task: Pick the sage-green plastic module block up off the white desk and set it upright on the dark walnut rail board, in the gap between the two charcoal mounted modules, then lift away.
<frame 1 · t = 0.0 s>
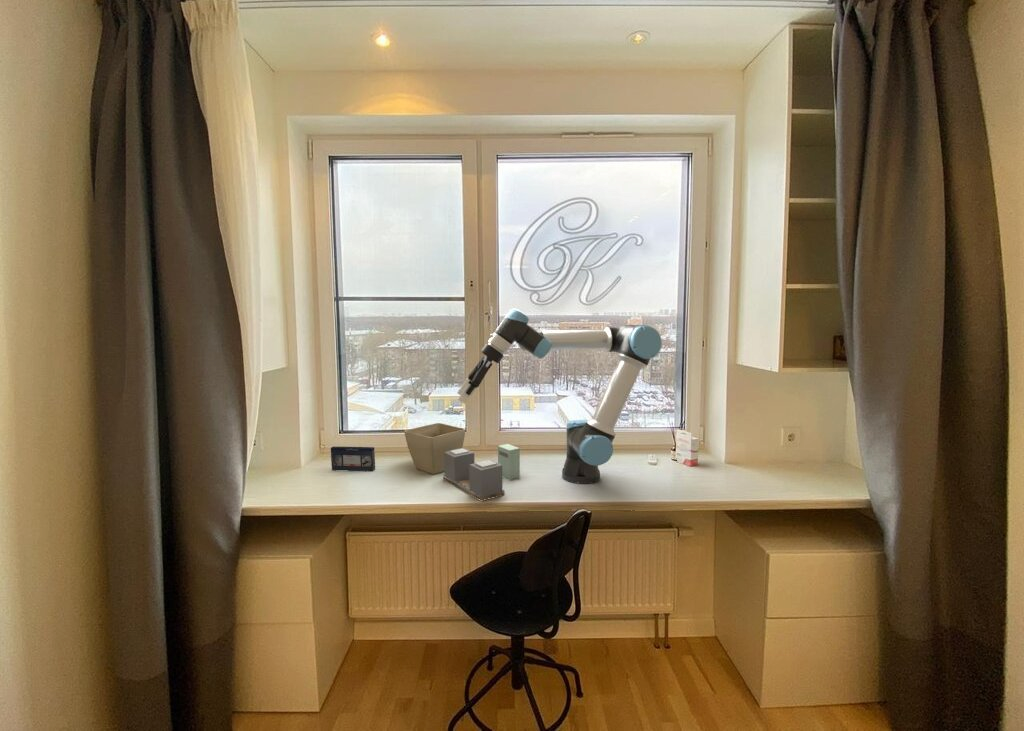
hand: (460, 398, 157), 36 cm above the table, tool tilted 35°, fingers open, 13 cm apart
mounted modules: (472, 486, 171), resting on rail board
vhs cassette tape: (353, 470, 191), on the table
module block: (508, 475, 183), on the table
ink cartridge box: (686, 463, 197), on the table
rail board: (472, 486, 171), on the table
flower pot: (435, 468, 193), on the table
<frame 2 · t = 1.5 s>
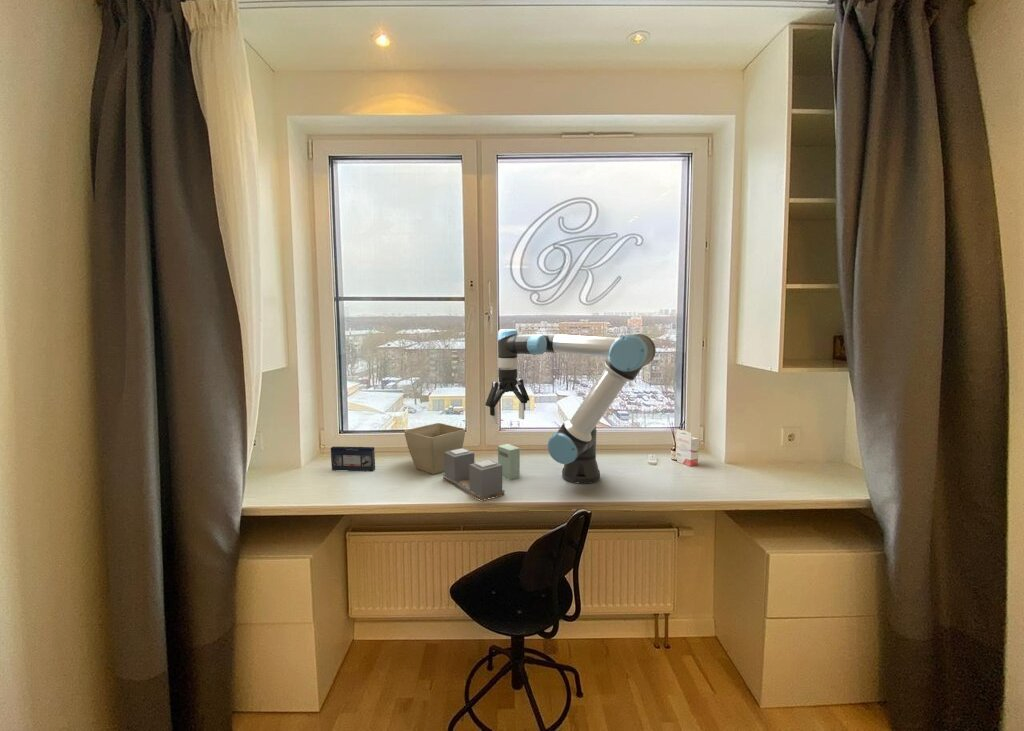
hand: (508, 421, 180), 23 cm above the table, tool pointing down, fingers open, 13 cm apart
nothing on the table moved.
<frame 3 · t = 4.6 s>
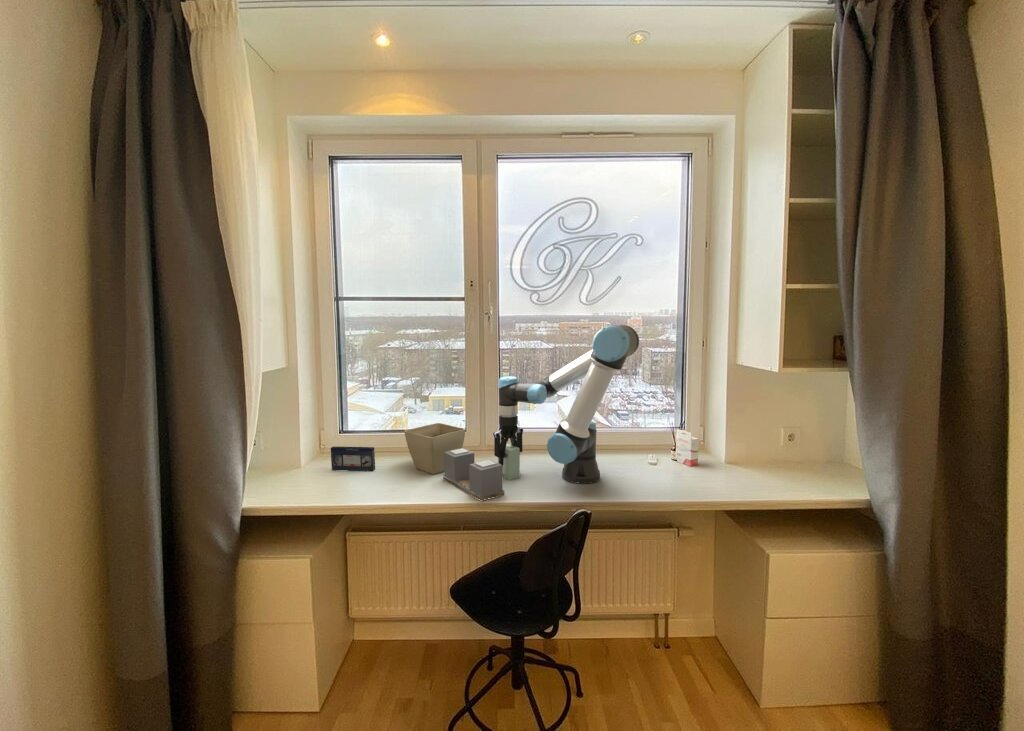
hand: (508, 471, 183), 2 cm above the table, tool pointing down, fingers closed on module block, 5 cm apart
module block: (508, 475, 183), on the table, touching gripper
everything else where it was.
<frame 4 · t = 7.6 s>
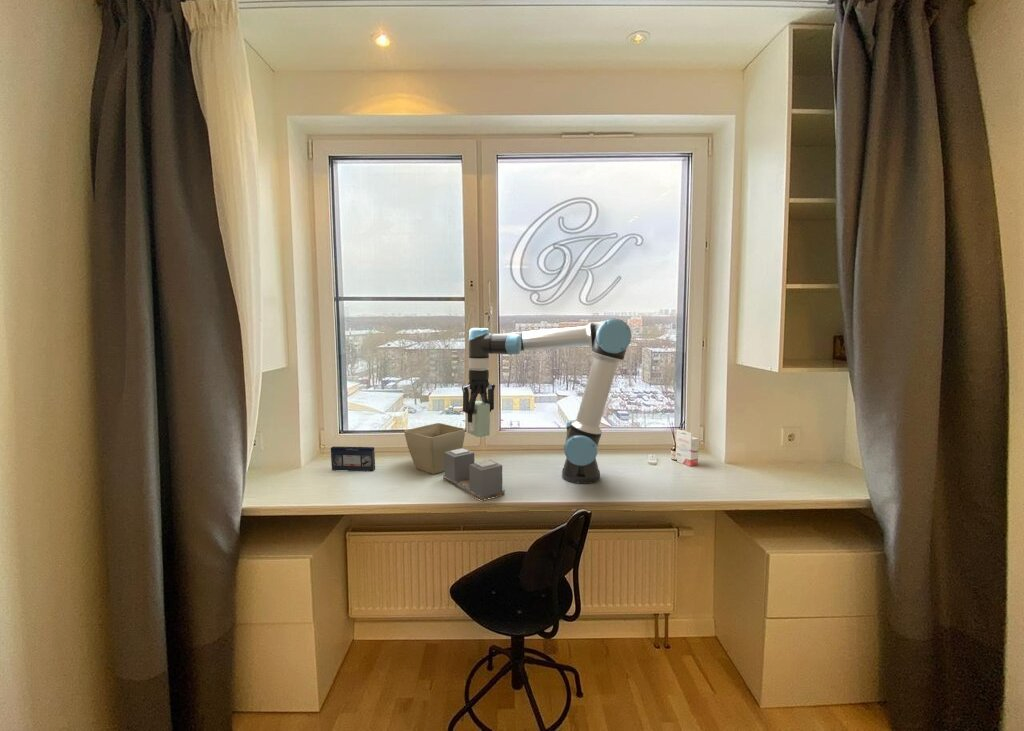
hand: (478, 429, 172), 21 cm above the table, tool pointing down, fingers closed on module block, 5 cm apart
module block: (478, 433, 172), point 20 cm above the table, touching gripper
everything else where it was.
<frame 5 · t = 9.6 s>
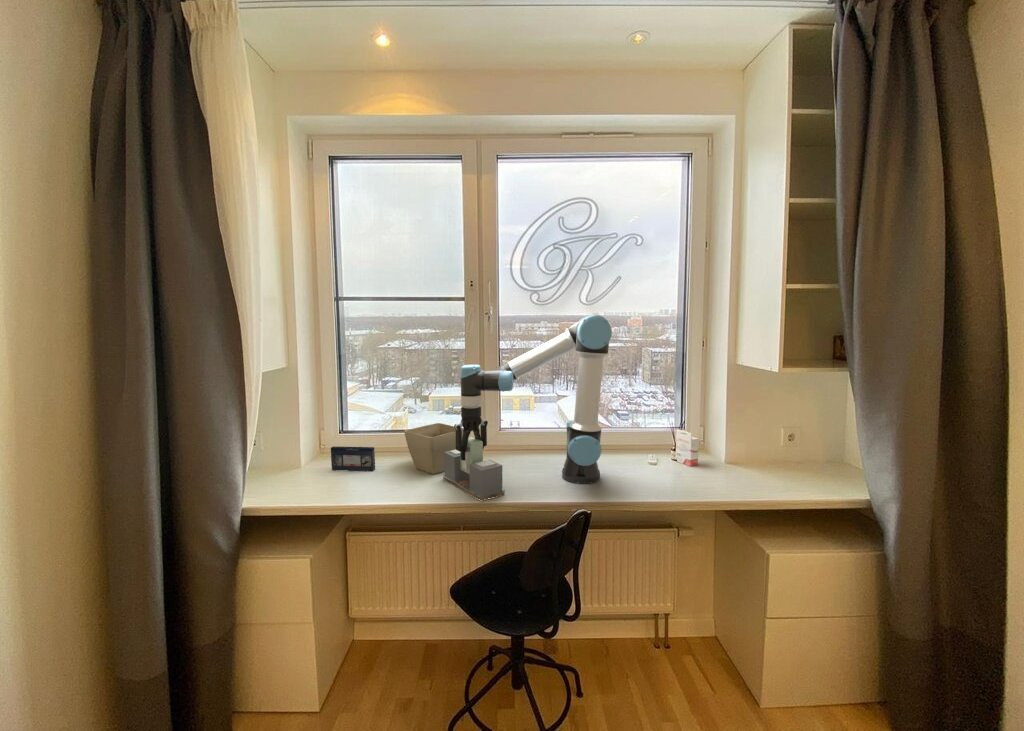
hand: (471, 466, 171), 8 cm above the table, tool pointing down, fingers closed on module block, 5 cm apart
module block: (471, 471, 171), point 6 cm above the table, touching gripper
everything else where it was.
when the fingers open (4 cm above the table, at t = 10.9 s): module block drops 1 cm, resting on rail board.
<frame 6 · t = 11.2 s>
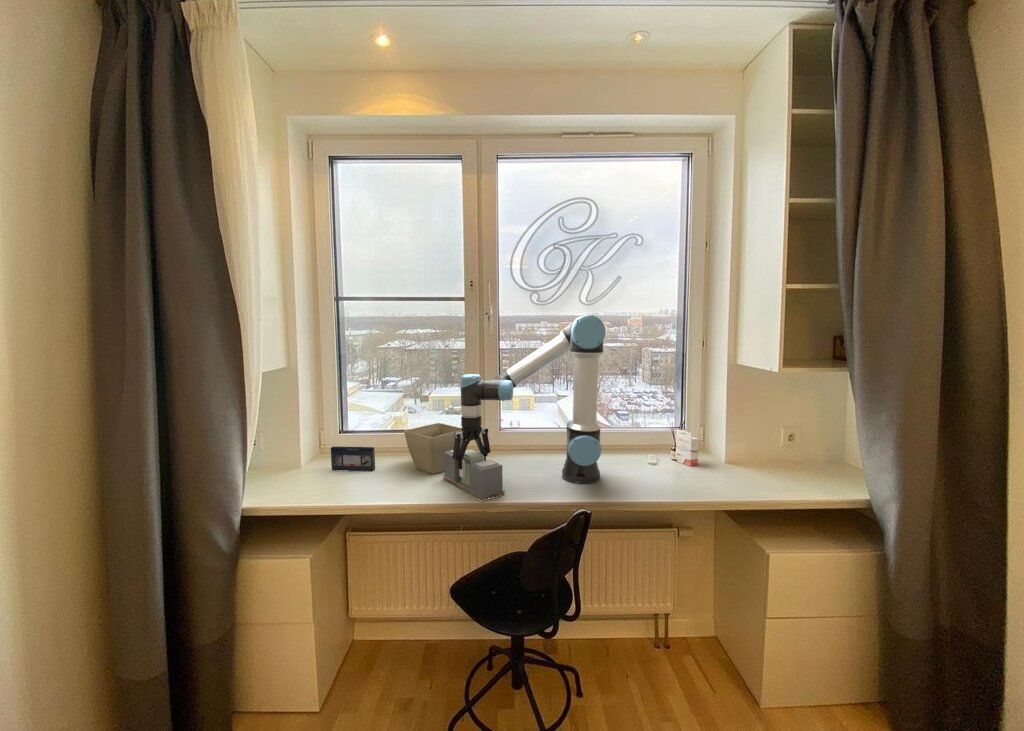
hand: (472, 474, 171), 5 cm above the table, tool pointing down, fingers open, 8 cm apart
module block: (472, 483, 171), point 1 cm above the table, touching rail board
everything else where it was.
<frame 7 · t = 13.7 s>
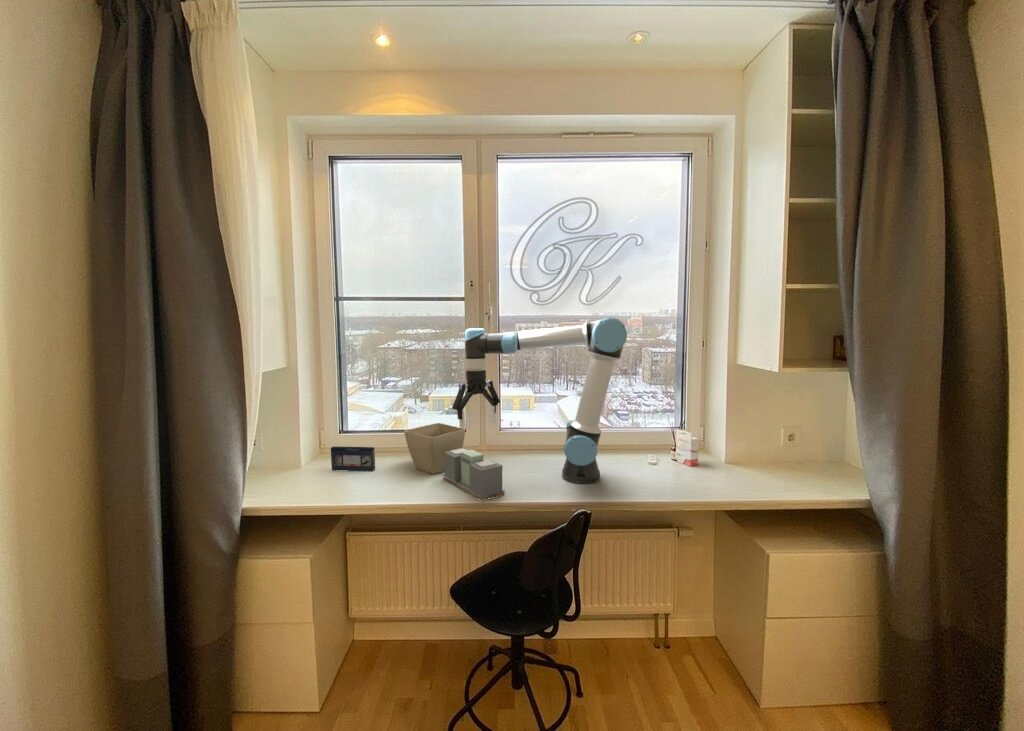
hand: (477, 424, 172), 23 cm above the table, tool pointing down, fingers open, 13 cm apart
nothing on the table moved.
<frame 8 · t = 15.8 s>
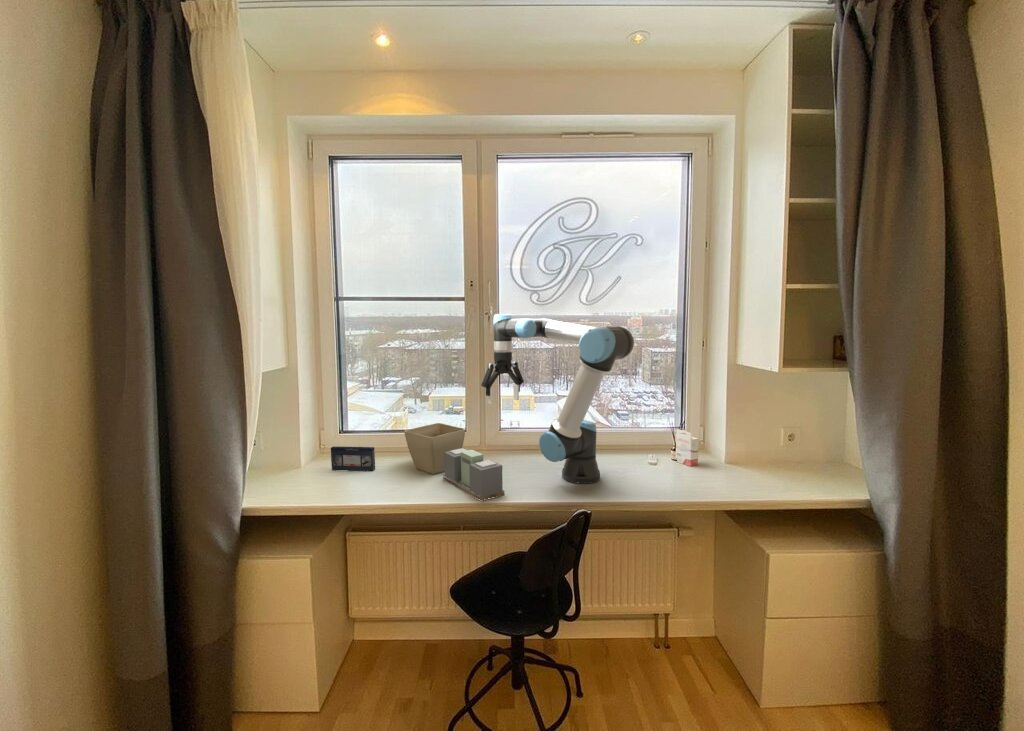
hand: (503, 401, 190), 29 cm above the table, tool pointing down, fingers open, 13 cm apart
nothing on the table moved.
at the end: module block 0.0 cm off-centre on the rail board, point 1.0 cm above the rail board's base; module block tilted 0°; the gripper is holding nothing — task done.
